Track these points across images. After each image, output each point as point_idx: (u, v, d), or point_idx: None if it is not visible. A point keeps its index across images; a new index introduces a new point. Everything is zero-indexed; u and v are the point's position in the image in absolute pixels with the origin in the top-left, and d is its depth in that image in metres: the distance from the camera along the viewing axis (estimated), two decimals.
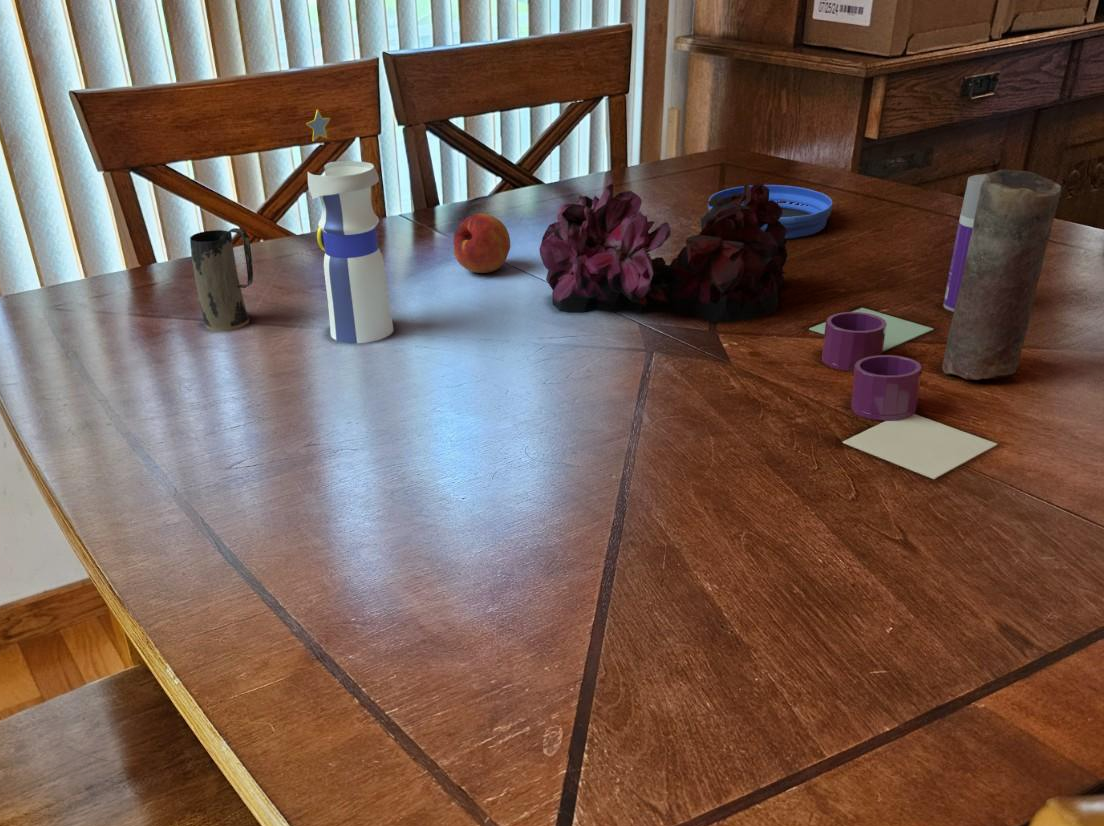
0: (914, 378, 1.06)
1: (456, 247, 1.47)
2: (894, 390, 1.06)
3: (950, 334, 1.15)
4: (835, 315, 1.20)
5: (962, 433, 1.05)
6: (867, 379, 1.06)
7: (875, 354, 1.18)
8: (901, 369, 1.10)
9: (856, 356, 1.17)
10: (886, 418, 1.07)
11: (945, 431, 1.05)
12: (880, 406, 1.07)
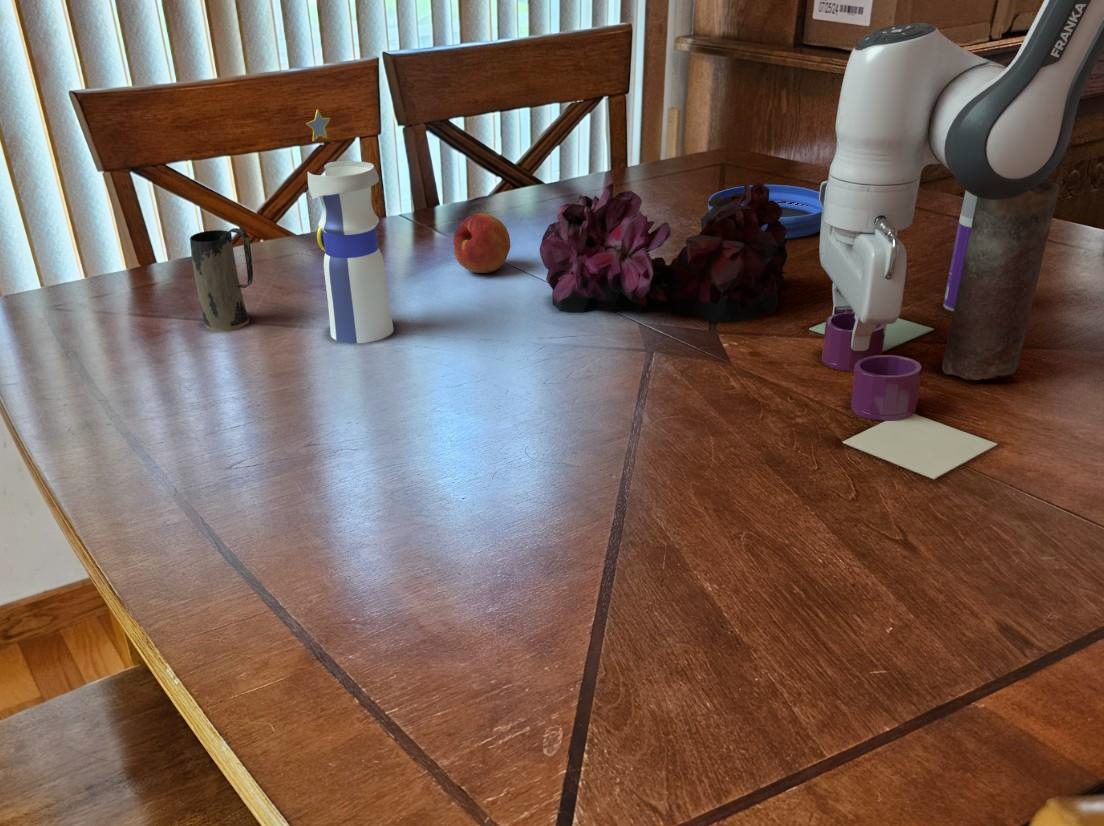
0: (914, 378, 1.06)
1: (456, 247, 1.47)
2: (894, 390, 1.06)
3: (950, 334, 1.15)
4: (835, 315, 1.20)
5: (962, 433, 1.05)
6: (867, 379, 1.06)
7: (875, 354, 1.18)
8: (901, 369, 1.10)
9: (856, 356, 1.17)
10: (886, 418, 1.07)
11: (945, 431, 1.05)
12: (880, 406, 1.07)
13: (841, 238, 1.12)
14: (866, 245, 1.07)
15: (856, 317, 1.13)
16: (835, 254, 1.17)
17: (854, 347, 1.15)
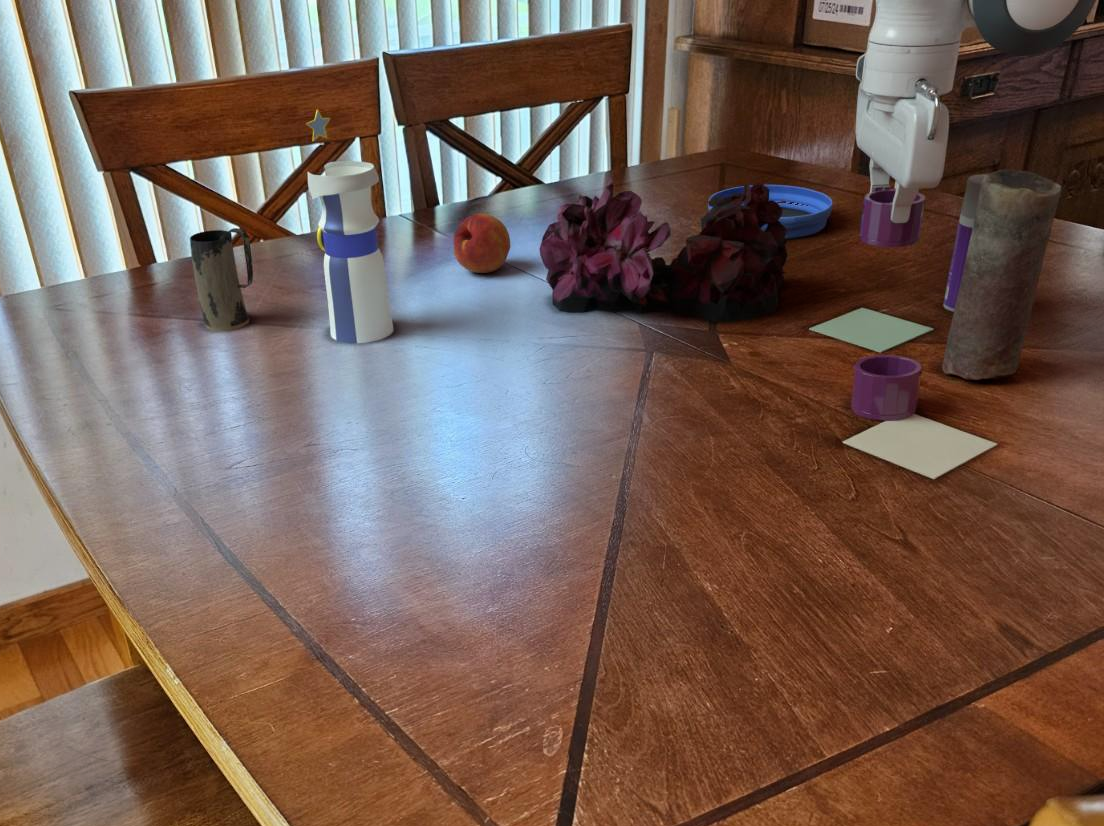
0: (914, 378, 1.06)
1: (456, 247, 1.47)
2: (894, 390, 1.06)
3: (950, 334, 1.15)
4: (873, 193, 1.20)
5: (962, 433, 1.05)
6: (867, 379, 1.06)
7: (914, 228, 1.18)
8: (901, 369, 1.10)
9: (895, 230, 1.17)
10: (886, 418, 1.07)
11: (945, 431, 1.05)
12: (880, 406, 1.07)
13: (881, 107, 1.12)
14: (908, 107, 1.07)
15: (896, 186, 1.13)
16: (873, 129, 1.18)
17: (894, 219, 1.15)
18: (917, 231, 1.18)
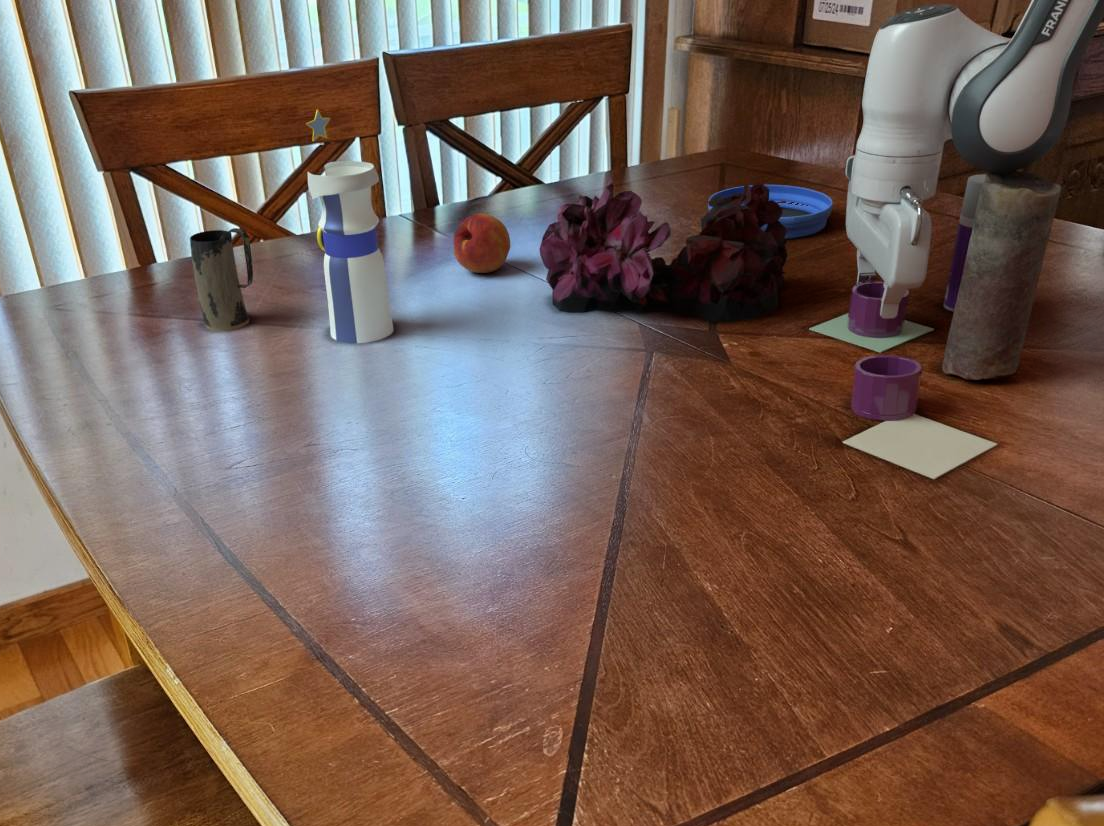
0: (914, 378, 1.06)
1: (456, 247, 1.47)
2: (894, 390, 1.06)
3: (950, 334, 1.15)
4: (860, 285, 1.27)
5: (962, 433, 1.05)
6: (867, 379, 1.06)
7: (898, 321, 1.24)
8: (901, 369, 1.10)
9: (880, 322, 1.24)
10: (886, 418, 1.07)
11: (945, 431, 1.05)
12: (880, 406, 1.07)
13: (868, 209, 1.19)
14: (893, 214, 1.14)
15: (885, 286, 1.19)
16: (862, 225, 1.24)
17: (883, 315, 1.21)
18: (901, 323, 1.25)
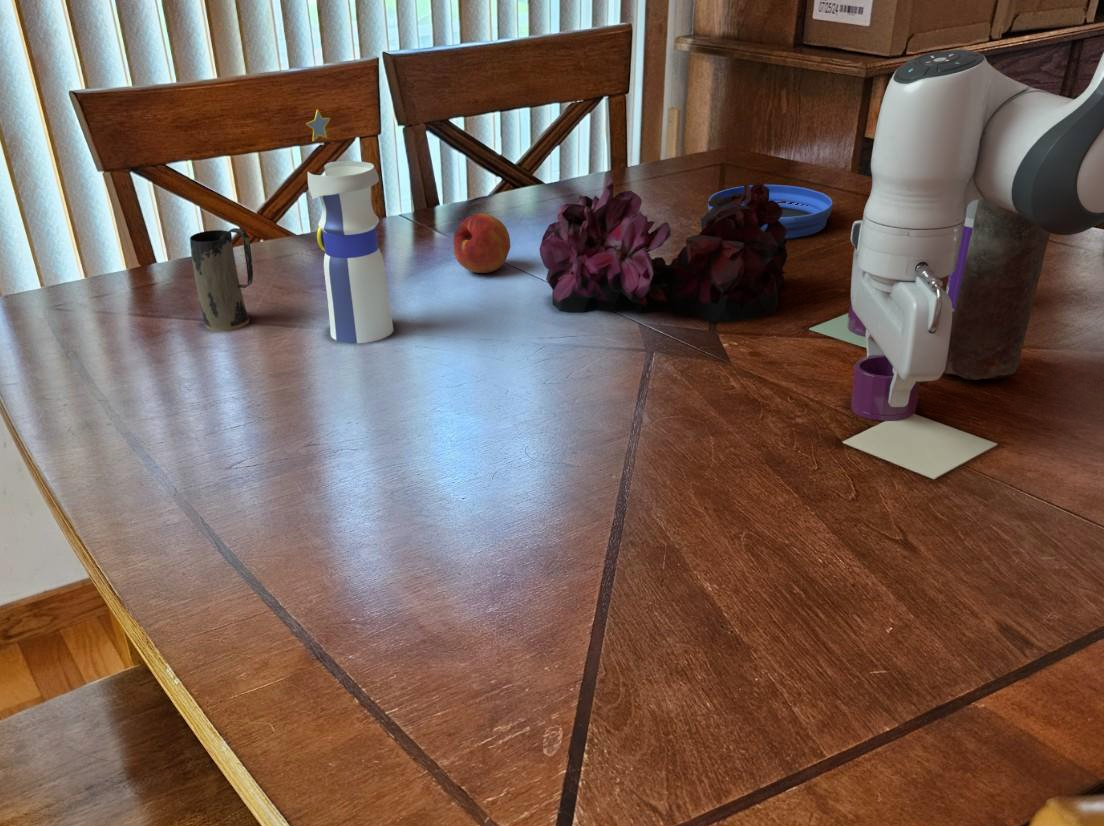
0: None
1: (456, 247, 1.47)
2: None
3: (950, 334, 1.15)
4: None
5: (962, 433, 1.05)
6: (867, 379, 1.06)
7: None
8: None
9: None
10: (886, 418, 1.07)
11: (945, 431, 1.05)
12: (880, 406, 1.07)
13: (877, 286, 1.02)
14: (907, 295, 0.97)
15: (894, 371, 1.03)
16: (870, 300, 1.07)
17: (892, 403, 1.05)
18: None
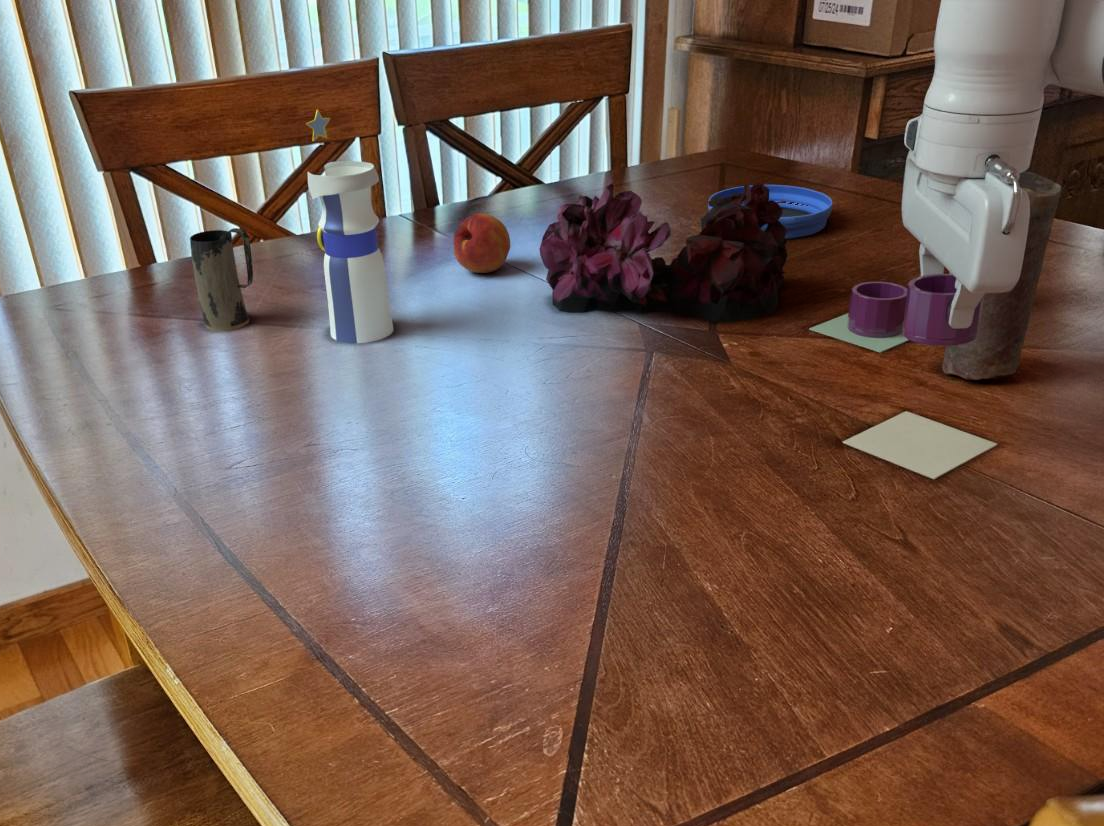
0: None
1: (456, 247, 1.47)
2: None
3: None
4: (860, 285, 1.27)
5: (962, 433, 1.05)
6: (923, 298, 0.94)
7: (898, 321, 1.24)
8: None
9: (880, 322, 1.24)
10: (945, 343, 0.95)
11: (945, 431, 1.05)
12: (938, 329, 0.94)
13: (939, 187, 0.89)
14: (977, 192, 0.84)
15: (958, 286, 0.90)
16: (926, 209, 0.95)
17: (953, 324, 0.92)
18: (901, 323, 1.25)
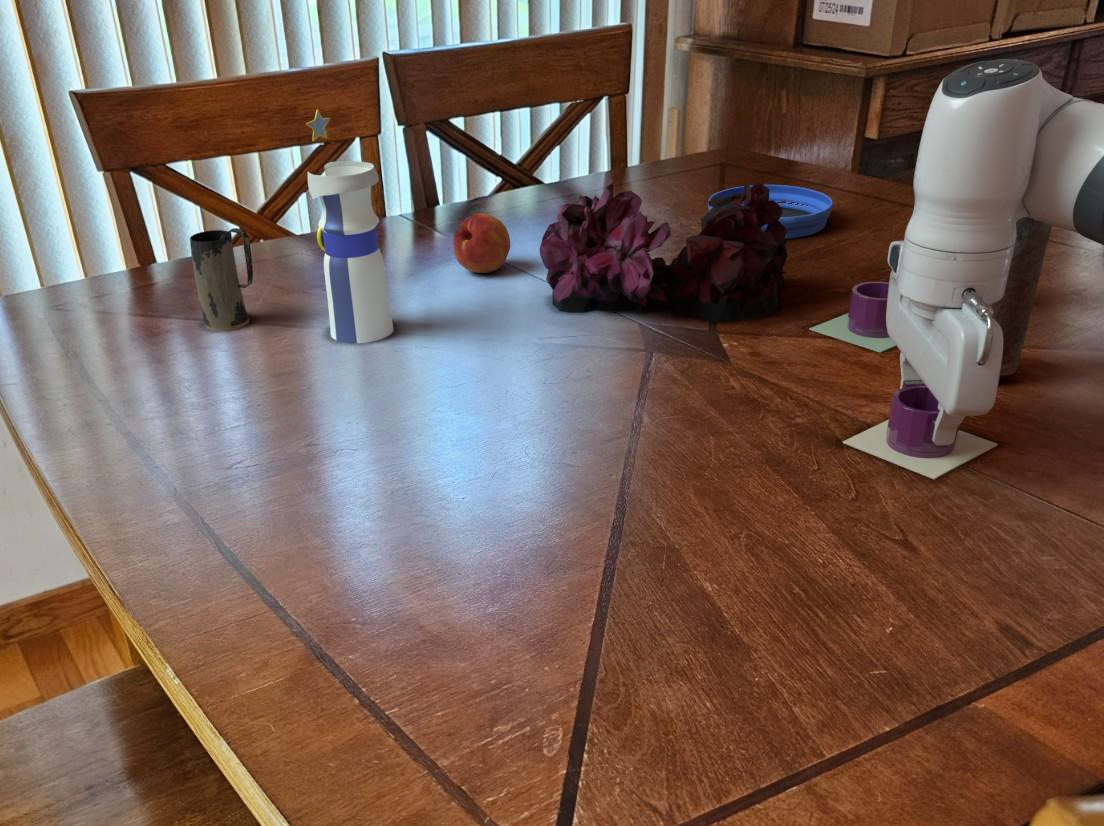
0: None
1: (456, 247, 1.47)
2: None
3: None
4: (860, 285, 1.27)
5: (962, 433, 1.05)
6: (907, 414, 1.00)
7: None
8: None
9: (880, 322, 1.24)
10: (924, 455, 1.01)
11: None
12: (919, 443, 1.00)
13: (919, 312, 0.95)
14: (953, 324, 0.90)
15: (940, 408, 0.95)
16: (908, 326, 1.00)
17: (937, 441, 0.97)
18: None
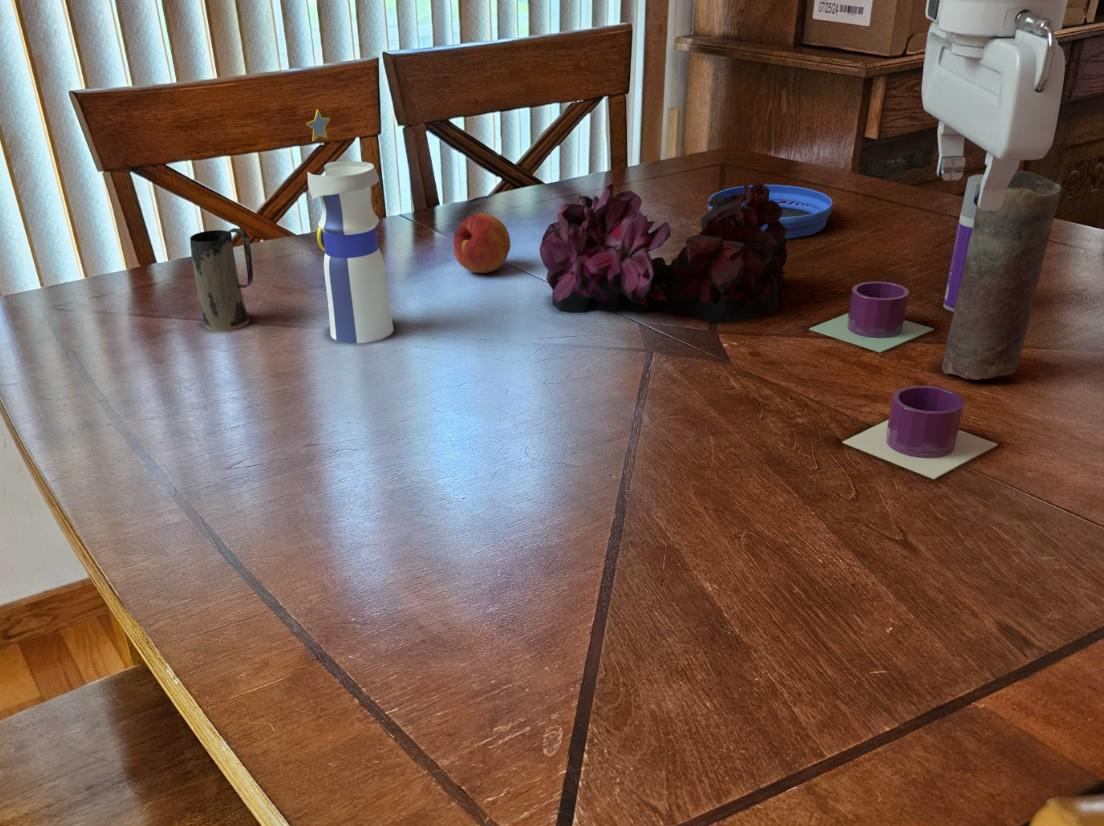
0: (957, 414, 0.99)
1: (456, 247, 1.47)
2: (935, 427, 0.99)
3: (950, 334, 1.15)
4: (860, 285, 1.27)
5: (962, 433, 1.05)
6: (907, 414, 1.00)
7: (898, 321, 1.24)
8: (941, 401, 1.03)
9: (880, 322, 1.24)
10: (924, 455, 1.01)
11: None
12: (919, 443, 1.00)
13: (964, 51, 0.83)
14: (1007, 48, 0.78)
15: (988, 161, 0.83)
16: (949, 84, 0.89)
17: (983, 206, 0.86)
18: (901, 323, 1.25)
